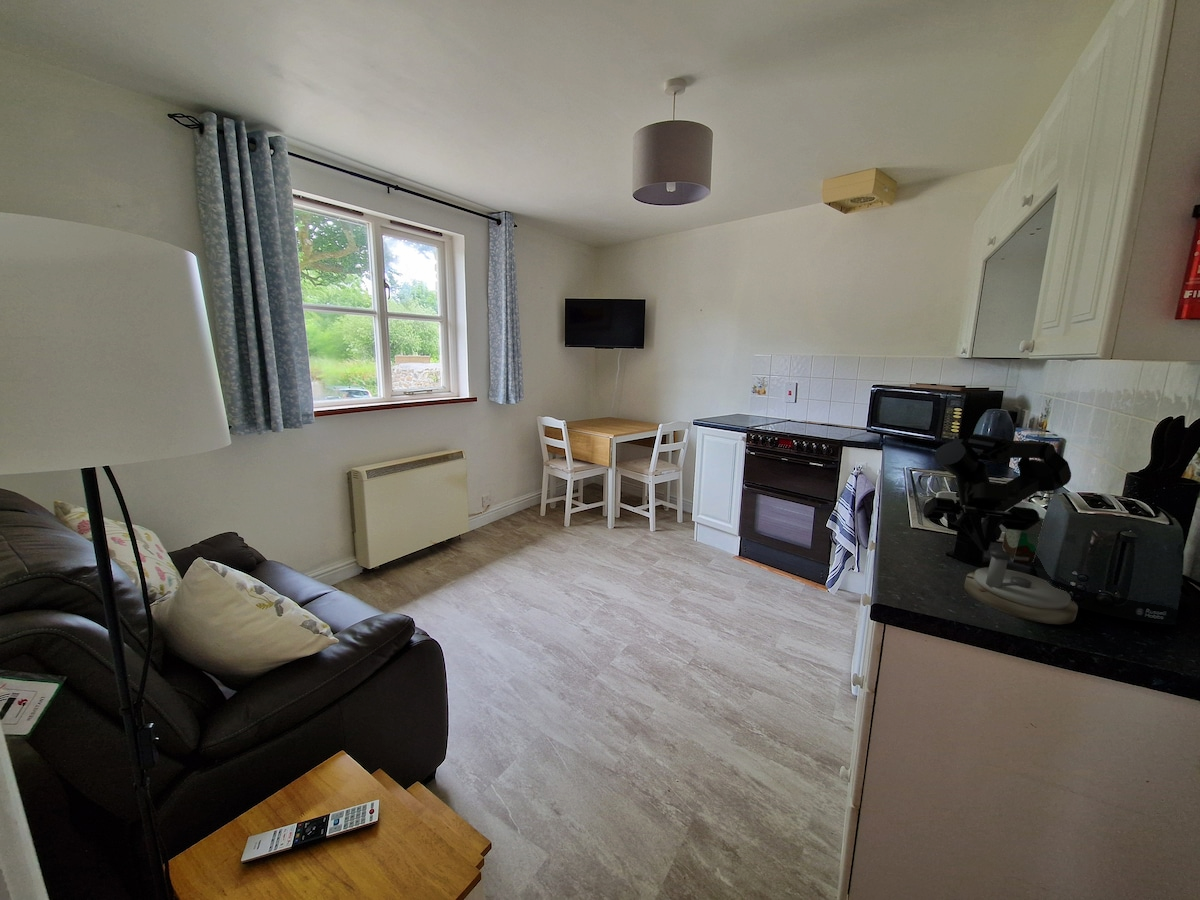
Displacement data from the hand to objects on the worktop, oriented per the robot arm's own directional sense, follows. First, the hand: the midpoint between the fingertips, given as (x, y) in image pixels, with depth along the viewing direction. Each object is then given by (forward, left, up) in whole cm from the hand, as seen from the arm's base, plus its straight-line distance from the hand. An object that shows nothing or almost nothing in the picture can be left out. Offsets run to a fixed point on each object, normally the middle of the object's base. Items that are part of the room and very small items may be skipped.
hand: (984, 550), depth 93 cm
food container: (-28, -4, -8) cm, 29 cm away
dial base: (-1, +6, -8) cm, 10 cm away
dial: (-1, +6, -6) cm, 9 cm away
